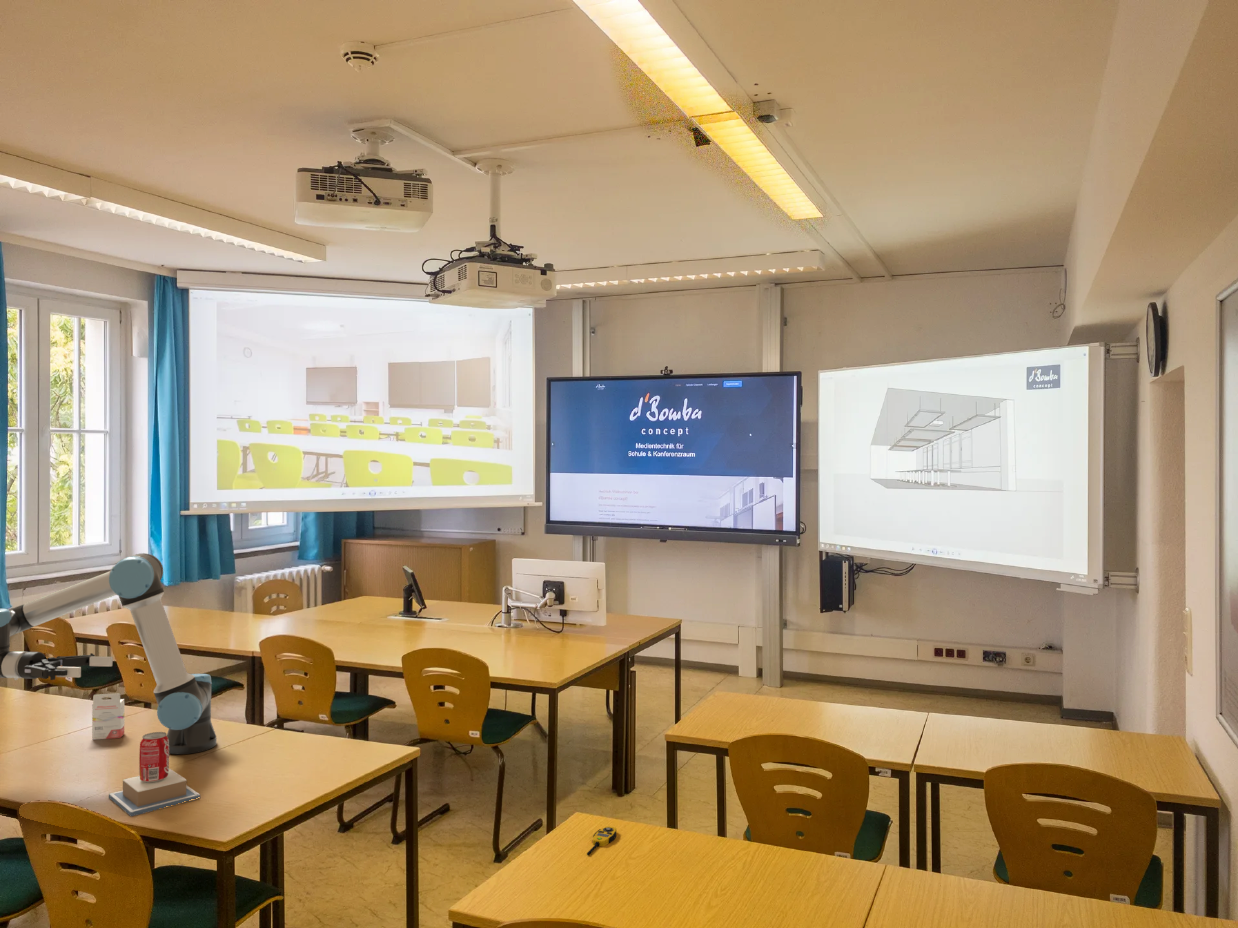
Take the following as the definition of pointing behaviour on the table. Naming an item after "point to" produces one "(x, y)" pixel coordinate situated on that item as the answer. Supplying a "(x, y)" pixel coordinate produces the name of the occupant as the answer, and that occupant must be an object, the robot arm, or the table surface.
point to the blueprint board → (152, 794)
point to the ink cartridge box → (107, 716)
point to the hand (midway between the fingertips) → (96, 666)
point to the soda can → (154, 757)
